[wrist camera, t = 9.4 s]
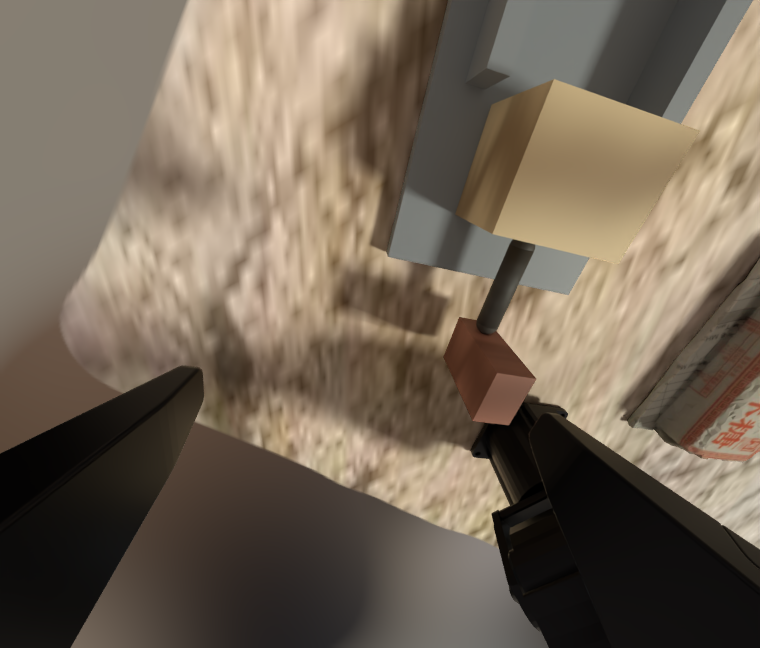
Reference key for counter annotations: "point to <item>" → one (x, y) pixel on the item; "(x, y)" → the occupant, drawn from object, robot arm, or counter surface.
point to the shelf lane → (527, 70)
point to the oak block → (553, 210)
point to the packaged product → (713, 384)
